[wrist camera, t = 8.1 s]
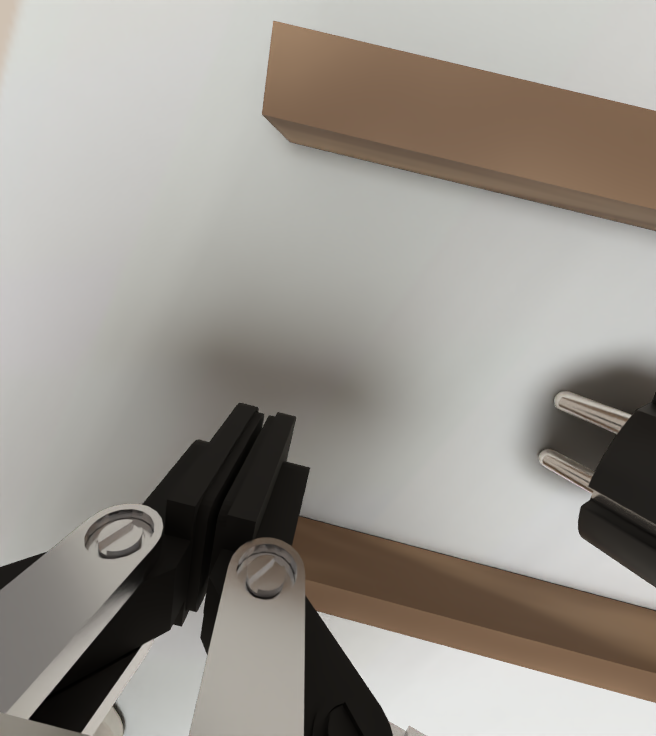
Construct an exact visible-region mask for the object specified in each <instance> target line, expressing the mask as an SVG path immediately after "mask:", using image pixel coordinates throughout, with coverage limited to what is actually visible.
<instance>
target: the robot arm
mask: <svg viewBox="0 0 656 736" xmlns="http://www.w3.org/2000/svg"><path fill="white" fill-rule="evenodd" d="M258 410H259V408H258V407H255V406H251V405H247V404H243V403H238V405H237V406H236V407H235V409H234V410H233V411H232V413H231V414H230V415H229V417H228V418H227V419H226V421H225V422H224V423H223V425H222V426H221V427H220V429H219V430H218V431H217V433H216V434H215V435H214V437H213V438H212V439H211V441H210V442H206V441H202V440H196V441H195V442H194V443H193V444H192V445H191V446H190V447H189V448H188V450H187V451H186V452H185V453H184V454H183V456H182V457H181V458H180V459H179V461H178V462H177V463H176V464H175V465H174V467H173V468H172V469H171V470H170V471H169V473H168V474H167V475H166V476H165V478H164V479H163V480H162V481H161V482H160V484H159V485H158V486H157V487H156V488H155V490H154V491H153V492H152V493H151V495H150V496H149V497H148V498H147V499H146V501H145V502H144V503H143V504H142V505H141V504H121V505H116V506H111V507H109V508H106V509H104V510H101V511H99V512H98V513H96V514H95V515H93V516H92V517H90V518H88V519H87V520H86V521H85V522H84V523H82V524H81V525H80V526H79V527H77V528H76V529H75V530H74V531H72V532H71V533H70V534H69V535H68V536H66V537H65V538H64V539H63V540H61V541H60V542H59V543H58V544H57V545H55V546H54V547H53V548H52V549H50V550H49V551H48V552H45V553H42V554H39V555H36V556H33V557H30V558H27V559H23V560H20V561H17V562H14V563H11V564H8V565H5V566H2V567H0V736H123V724H122V722H121V719H120V716H119V715H118V713H117V712H116V710H115V709H114V707H113V704H114V703H115V701H116V700H117V698H118V697H119V695H120V694H121V693H122V691H123V690H124V688H125V687H126V685H127V684H128V682H129V681H130V679H131V678H132V676H133V675H134V673H135V672H136V670H137V669H138V667H139V666H140V664H141V663H142V661H143V660H144V658H145V657H146V655H147V654H148V652H149V650H150V648H151V646H152V644H153V642H154V638H156V637H158V636H160V635H162V634H164V633H165V632H167V631H169V630H170V629H171V627H172V625H173V624H174V625H178V626H182V625H183V623H184V620H185V618H186V616H187V614H188V612H189V610H190V611H194V612H197V611H198V609H199V607H200V605H201V603H202V601H203V598H204V596H205V594H206V598H205V605H204V617H203V624H202V631H201V637H200V638H201V640H202V643H203V645H204V648H205V650H206V653H207V660H206V664H205V668H204V672H203V677H202V681H201V685H200V690H199V694H198V698H197V702H196V707H195V711H194V715H193V719H192V724H191V728H190V732H189V736H426V735H424V734H423V733H421V732H419V731H417V730H416V729H414V728H412V727H410V726H409V727H408V729H407V730H406V731H405V730H403V729H401V728H399V727H398V726H396V725H394V724H393V723H391V722H389V721H388V719H387V717H386V715H385V713H384V712H383V710H382V708H381V706H380V705H379V703H378V702H377V700H376V699H375V697H374V696H373V694H372V693H371V691H370V690H369V688H368V687H367V685H366V684H365V682H364V681H363V679H362V678H361V676H360V675H359V673H358V672H357V671H356V669H355V668H354V666H353V665H352V663H351V662H350V660H349V659H348V657H347V656H346V654H345V653H344V651H343V650H342V648H341V647H340V645H339V644H338V642H337V641H336V640H335V638H334V637H333V635H332V634H331V632H330V631H329V629H328V628H327V626H326V625H325V623H324V622H323V620H322V619H321V617H320V616H319V614H318V613H317V611H316V610H315V608H314V607H313V606H312V604H311V603H310V601H309V600H308V598H307V597H306V595H305V568H304V563H303V561H302V559H301V557H300V555H299V553H298V552H297V551H296V550H295V549H294V548H293V547H292V544H293V540H294V535H295V531H296V527H297V522H298V518H299V514H300V509H301V505H302V501H303V496H304V492H305V488H306V483H307V479H308V475H309V470H310V468H309V467H305V466H301V465H297V464H293V463H289V462H286V461H287V457H288V452H289V448H290V443H291V439H292V434H293V430H294V425H295V421H296V417H295V416H291V415H287V414H283V413H279V412H278V413H277V414H276V416H271V415H269V416H268V418H267V420H266V422H265V424H264V426H263V428H262V425H263V420H264V414H263V413H259V412H258Z"/></svg>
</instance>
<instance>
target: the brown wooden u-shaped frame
mask: <svg viewBox="0 0 656 736" xmlns="http://www.w3.org/2000/svg"><path fill="white" fill-rule="evenodd" d="M262 115H263V116H264V117H265V118H266V119H267V120H268V121H269V122H270V123H271V124H272V125H273V126H274V127H275V128H276V129H277V130H278V131H279V132H280V133H281V134H282V135H283V136H284V137H285V138H286V139H287V140H288V141H289V142H292V143H296V144H300V145H304V146H308V147H313V148H317V149H321V150H325V151H329V152H333V153H337V154H341V155H345V156H350V157H354V158H358V159H362V160H366V161H370V162H374V163H378V164H382V165H387V166H391V167H395V168H399V169H403V170H407V171H411V172H415V173H419V174H424V175H428V176H432V177H436V178H440V179H444V180H448V181H452V182H456V183H461V184H465V185H469V186H473V187H477V188H481V189H485V190H489V191H494V192H498V193H502V194H506V195H510V196H514V197H518V198H522V199H526V200H531V201H535V202H539V203H543V204H547V205H551V206H555V207H559V208H563V209H568V210H572V211H576V212H580V213H584V214H588V215H592V216H596V217H600V218H605V219H609V220H613V221H617V222H621V223H625V224H629V225H633V226H637V227H642V228H646V229H650V230H654V231H656V111H654V110H649V109H645V108H641V107H637V106H632V105H628V104H624V103H620V102H615V101H611V100H607V99H603V98H599V97H594V96H590V95H586V94H582V93H577V92H573V91H569V90H565V89H560V88H556V87H552V86H548V85H543V84H539V83H535V82H531V81H527V80H522V79H518V78H514V77H510V76H505V75H501V74H497V73H493V72H488V71H484V70H480V69H476V68H471V67H467V66H463V65H459V64H454V63H450V62H446V61H442V60H438V59H433V58H429V57H425V56H421V55H416V54H412V53H408V52H404V51H399V50H395V49H391V48H387V47H382V46H378V45H374V44H370V43H366V42H361V41H357V40H353V39H349V38H344V37H340V36H336V35H332V34H327V33H323V32H319V31H315V30H310V29H306V28H302V27H298V26H294V25H289V24H285V23H281V22H277V21H273V28H272V36H271V45H270V53H269V61H268V69H267V77H266V85H265V93H264V101H263V109H262ZM292 547H293V548H294V549H295V550H296V551H297V552H298V553H299V555H300V557H301V559H302V561H303V563H304V568H305V595H306V597H307V598H308V600H309V601H310V603H311V604H312V606H313V607H314V608H315V610H316V611H319V612H323V613H326V614H330V615H334V616H337V617H341V618H345V619H348V620H352V621H356V622H359V623H363V624H367V625H371V626H374V627H378V628H382V629H385V630H389V631H393V632H396V633H400V634H404V635H407V636H411V637H415V638H419V639H422V640H426V641H430V642H433V643H437V644H441V645H444V646H448V647H452V648H455V649H459V650H463V651H467V652H470V653H474V654H478V655H481V656H485V657H489V658H492V659H496V660H500V661H503V662H507V663H511V664H515V665H518V666H522V667H526V668H529V669H533V670H537V671H540V672H544V673H548V674H551V675H555V676H559V677H562V678H566V679H570V680H574V681H577V682H581V683H585V684H588V685H592V686H596V687H599V688H603V689H607V690H610V691H614V692H618V693H622V694H625V695H629V696H633V697H636V698H640V699H644V700H647V701H651V702H655V703H656V611H654V610H650V609H646V608H643V607H639V606H635V605H631V604H628V603H624V602H620V601H616V600H612V599H609V598H605V597H601V596H597V595H594V594H590V593H586V592H582V591H579V590H575V589H571V588H567V587H564V586H560V585H556V584H552V583H548V582H545V581H541V580H537V579H533V578H530V577H526V576H522V575H518V574H515V573H511V572H507V571H503V570H500V569H496V568H492V567H488V566H484V565H481V564H477V563H473V562H469V561H466V560H462V559H458V558H454V557H451V556H447V555H443V554H439V553H435V552H432V551H428V550H424V549H420V548H417V547H413V546H409V545H405V544H402V543H398V542H394V541H390V540H387V539H383V538H379V537H375V536H371V535H368V534H364V533H360V532H356V531H353V530H349V529H345V528H341V527H338V526H334V525H330V524H326V523H323V522H319V521H315V520H311V519H307V518H304V517H300V516H299V518H298V522H297V527H296V531H295V535H294V540H293V544H292Z"/></svg>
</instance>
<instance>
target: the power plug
mask: <svg viewBox="0 0 656 736" xmlns="http://www.w3.org/2000/svg"><path fill="white" fill-rule="evenodd" d="M554 404H555V406H556V408H557V409H559V410H561V411H563V412H565V413H568V414H570V415H572V416H575V417H577V418H579V419H582V420H584V421H587V422H589V423H591V424H594V425H596V426H598V427H601V428H603V429H606V430H608V431H610V432H613V433H615V434H617V435H616V437H615V438H614V440H613V441H612V443H611V444H610V446H609V447H608V449H607V450H606V452H605V454H604V456H603V457H602V459H601V461H600V463H599V465H598V466H597V468H596V470H595V471H593V470H591V469H589V468H587V467H585V466H584V465H582V464H580V463H578V462H576V461H574V460H572V459H570V458H568V457H566V456H564V455H562V454H560V453H559V452H557V451H555V450H552V449H545V450H543V451H542V452H541V453H540V454H539V462H540V463H541V465H542V466H543V467H545V468H547V469H549V470H550V471H552V472H554V473H556V474H557V475H559V476H561V477H563V478H564V479H566V480H568V481H570V482H571V483H573V484H575V485H577V486H578V487H580V488H582V489H584V490H585V491H587V492H589V493H591V494H592V496H591V499H590V500H589V501H588V502H586V503H585V504H583V505H582V506H581V509H580V513H579V519H578V530H579V534H580V536H581V537H582V538H583V539H585V540H586V541H588V542H589V543H591V544H592V545H594V546H595V547H597V548H598V549H600V550H601V551H603V552H604V553H606V554H607V555H608V556H610V557H611V558H613V559H614V560H616V561H617V562H619V563H620V564H622V565H623V566H625V567H626V568H628V569H629V570H631V571H632V572H634V573H635V574H637V575H638V576H639V577H641V578H642V579H644V580H645V581H647V582H648V583H650V584H651V585H653V586H654V587H656V393H655V395H654V398H653V400H652V402H651V403H649V404H647V405H645V406H643V407H641V408H639V409H637V410H636V411H635V412H634V413H633V414H629V413H626V412H624V411H621V410H618V409H615V408H613V407H610V406H607V405H605V404H602V403H599V402H597V401H594V400H591V399H588V398H586V397H583V396H580V395H578V394H575V393H572V392H569V391H562V392H560V393H558V394H557V395H556V396H555V398H554Z"/></svg>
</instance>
